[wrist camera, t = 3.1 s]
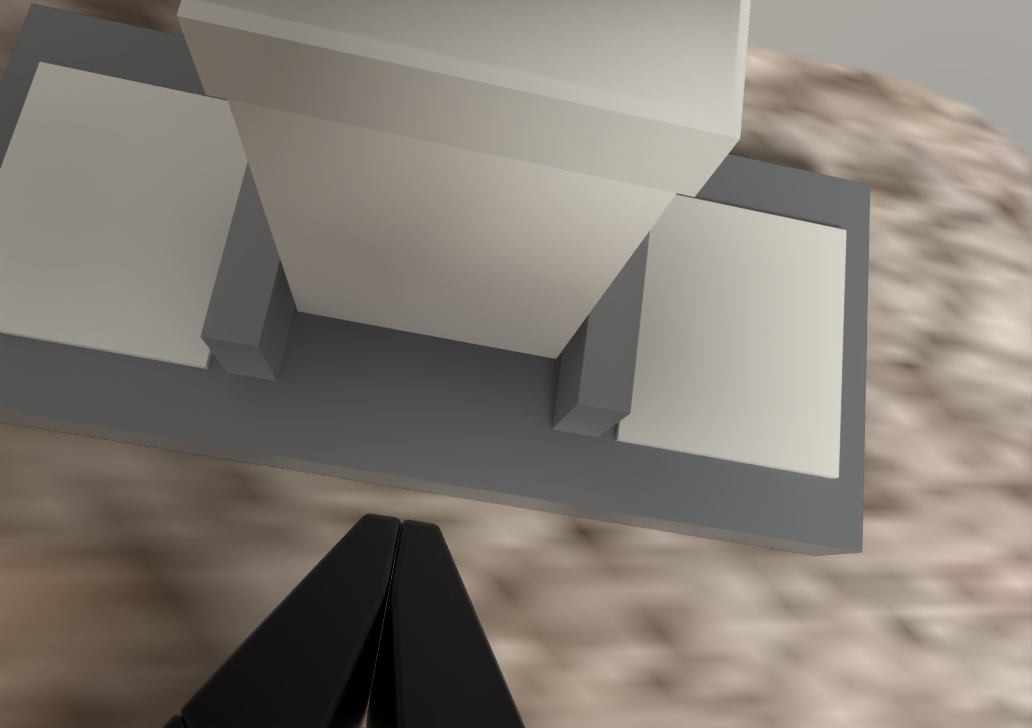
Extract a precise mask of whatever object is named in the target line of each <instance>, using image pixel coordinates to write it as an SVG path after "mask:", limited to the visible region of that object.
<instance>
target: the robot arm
mask: <svg viewBox="0 0 1032 728" xmlns="http://www.w3.org/2000/svg"><path fill="white" fill-rule="evenodd" d="M400 527H401V530H400ZM399 533H400V535H399ZM398 538H399V541H398ZM397 544H398V546H397ZM396 549H397V552H396ZM395 555H396V557H395ZM394 560H395V562H394ZM393 565H394V568H393ZM392 571H393V573H392ZM391 576H392V579H391ZM390 582H391V584H390ZM389 587H390V590H389ZM388 593H389V595H388ZM387 598H388V601H387ZM386 604H387V606H386ZM385 609H386V611H385ZM384 614H385V617H384ZM383 620H384V622H383ZM382 625H383V628H382ZM381 631H382V633H381ZM380 636H381V639H380ZM379 642H380V644H379ZM378 647H379V650H378ZM377 652H378V655H377ZM376 658H377V661H376ZM375 663H376V666H375ZM374 669H375V671H374ZM373 674H374V677H373ZM372 680H373V682H372ZM371 685H372V688H371ZM370 691H371V693H370ZM369 696H370V700H369ZM368 700H369V706H368V713H367V723H366V728H525V726H524V723H523V721H522V719H521V716H520V714H519V712H518V709H517V707H516V705H515V702H514V700H513V698H512V695H511V693H510V691H509V688H508V686H507V684H506V681H505V679H504V677H503V674H502V672H501V670H500V667H499V665H498V663H497V660H496V658H495V656H494V653H493V651H492V649H491V647H490V644H489V642H488V640H487V637H486V635H485V633H484V630H483V628H482V626H481V623H480V621H479V619H478V616H477V614H476V612H475V609H474V607H473V605H472V602H471V600H470V598H469V595H468V593H467V591H466V588H465V586H464V584H463V581H462V579H461V577H460V574H459V572H458V570H457V567H456V565H455V563H454V560H453V558H452V556H451V553H450V551H449V549H448V546H447V544H446V542H445V539H444V537H443V535H442V532H441V530H440V528H439V527H438V526H437V525H435V524H432V523H426V522H420V521H414V520H405V521H404V522H403V523H402V525H401V522H400V520H399V519H398V518H395V517H389V516H383V515H376V514H366V515H364V516H363V517H362V518H361V519H360V520H359V521H358V522H357V523H356V524H355V525H354V526H353V527H352V528H351V529H350V530H349V532H348V533H347V534H346V535H345V536H344V537H343V538H342V539H341V540H340V541H339V542H338V543H337V544H336V545H335V546H334V547H333V548H332V549H331V550H330V551H329V553H328V554H327V555H326V556H325V557H324V558H323V559H322V560H321V561H320V562H319V563H318V564H317V565H316V566H315V567H314V568H313V569H312V570H311V571H310V573H309V574H308V575H307V576H306V577H305V578H304V579H303V580H302V581H301V582H300V583H299V584H298V585H297V586H296V587H295V588H294V589H293V590H292V591H291V593H290V594H289V595H288V596H287V597H286V598H285V599H284V600H283V601H282V602H281V603H280V604H279V605H278V606H277V607H276V608H275V609H274V610H273V611H272V613H271V614H270V615H269V616H268V617H267V618H266V619H265V620H264V621H263V622H262V623H261V624H260V625H259V626H258V627H257V628H256V629H255V630H254V631H253V633H252V634H251V635H250V636H249V637H248V638H247V639H246V640H245V641H244V642H243V643H242V644H241V645H240V646H239V647H238V648H237V649H236V650H235V651H234V653H233V654H232V655H231V656H230V657H229V658H228V659H227V660H226V661H225V662H224V663H223V664H222V665H221V666H220V667H219V668H218V669H217V670H216V671H215V672H214V674H213V675H212V676H211V677H210V678H209V679H208V680H207V681H206V682H205V683H204V684H203V685H202V686H201V687H200V688H199V689H198V690H197V691H196V692H195V694H194V695H193V696H192V697H191V698H190V699H189V700H188V701H187V702H186V703H185V704H184V705H183V706H182V707H181V708H180V710H179V715H174V716H172V717H171V718H170V719H169V720H168V721H167V722H166V724H165V725H164V726H163V727H162V728H362V725H363V721H364V718H365V714H366V710H367V705H368Z"/></svg>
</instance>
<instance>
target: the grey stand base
mask: <svg viewBox="0 0 1032 728" xmlns="http://www.w3.org/2000/svg"><path fill="white" fill-rule="evenodd" d="M869 216H870V184H865V183H861V182H856V181H851V180H847V179H842V178H838V177H833V176H828V175H824V174H819V173H814V172H810V171H805V170H800V169H796V168H791V167H787V166H782V165H777V164H773V163H768V162H763V161H759V160H754V159H749V158H745V157H740V156H736V155H731V154H728V155H727V156H726V157H725V159H724V160H723V161H722V163H721V164H720V165H719V166H718V168H717V169H716V170H715V172H714V173H713V174H712V175H711V177H710V178H709V179H708V180H707V182H706V183H705V184H704V186H703V187H702V188H701V189H700V191H699V192H698V193H697V195H696V196H695V197H692V196H687V195H683V194H678V193H677V194H676V195H675V196H674V198H673V199H672V201H671V202H670V203H669V205H668V206H667V207H666V209H665V210H664V212H663V213H662V214H661V216H660V217H659V218H658V220H657V221H656V223H655V224H654V225H653V227H652V228H651V229H650V231H649V232H648V234H647V235H646V236H645V238H644V239H643V240H642V242H641V243H640V244H639V246H638V247H637V249H636V250H635V251H634V253H633V254H632V255H631V257H630V258H629V260H628V261H627V262H626V264H625V265H624V266H623V268H622V269H621V271H620V272H619V273H618V275H617V276H616V277H615V279H614V280H613V282H612V283H611V284H610V286H609V287H608V288H607V290H606V291H605V293H604V294H603V295H602V297H601V298H600V299H599V301H598V302H597V304H596V305H595V306H594V308H593V309H592V310H591V312H590V313H589V315H588V316H587V317H586V319H585V320H584V321H583V323H582V324H581V326H580V327H579V328H578V330H577V331H576V332H575V334H574V335H573V336H572V338H571V339H570V341H569V342H568V343H567V345H566V346H565V347H564V349H563V350H562V352H561V353H560V354H559V356H558V357H557V358H556V359H554V358H549V357H543V356H538V355H532V354H527V353H521V352H516V351H511V350H505V349H500V348H494V347H489V346H483V345H478V344H473V343H467V342H462V341H456V340H451V339H445V338H440V337H434V336H429V335H424V334H418V333H413V332H407V331H402V330H396V329H391V328H386V327H380V326H375V325H369V324H364V323H358V322H353V321H348V320H342V319H337V318H331V317H326V316H320V315H315V314H310V313H304V312H299V311H297V308H296V305H295V302H294V299H293V296H292V293H291V290H290V287H289V284H288V281H287V278H286V275H285V272H284V269H283V266H282V263H281V260H280V257H279V254H278V251H277V248H276V245H275V242H274V239H273V236H272V233H271V230H270V227H269V224H268V221H267V218H266V215H265V212H264V209H263V206H262V203H261V200H260V197H259V194H258V191H257V188H256V185H255V182H254V178H253V175H252V172H251V169H250V166H249V163H248V160H247V157H246V154H245V151H244V148H243V145H242V142H241V139H240V136H239V133H238V130H237V127H236V124H235V121H234V118H233V115H232V112H231V109H230V106H229V103H228V100H227V99H224V98H219V97H214V96H209V95H206V94H205V91H204V88H203V86H202V83H201V80H200V77H199V75H198V72H197V69H196V67H195V64H194V61H193V59H192V56H191V53H190V51H189V48H188V45H187V43H186V40H185V37H184V36H179V35H175V34H170V33H166V32H161V31H156V30H152V29H147V28H142V27H138V26H133V25H129V24H124V23H119V22H115V21H110V20H105V19H101V18H96V17H91V16H87V15H82V14H78V13H73V12H68V11H64V10H59V9H54V8H50V7H45V6H40V5H36V4H31V6H30V9H29V12H28V14H27V17H26V20H25V22H24V25H23V28H22V30H21V33H20V35H19V38H18V41H17V43H16V46H15V49H14V51H13V54H12V56H11V59H10V62H9V64H8V67H7V70H6V72H5V75H4V78H3V80H2V83H1V85H0V422H2V423H9V424H15V425H21V426H27V427H33V428H39V429H45V430H51V431H57V432H63V433H70V434H76V435H82V436H88V437H94V438H100V439H106V440H112V441H118V442H124V443H131V444H137V445H143V446H149V447H155V448H161V449H167V450H173V451H179V452H185V453H191V454H198V455H204V456H210V457H216V458H222V459H228V460H234V461H240V462H246V463H252V464H259V465H265V466H271V467H277V468H283V469H289V470H295V471H301V472H307V473H313V474H320V475H326V476H332V477H338V478H344V479H350V480H356V481H362V482H368V483H374V484H380V485H387V486H393V487H399V488H405V489H411V490H417V491H423V492H429V493H435V494H441V495H448V496H454V497H460V498H466V499H472V500H478V501H484V502H490V503H496V504H502V505H509V506H515V507H521V508H527V509H533V510H539V511H545V512H551V513H557V514H563V515H569V516H576V517H582V518H588V519H594V520H600V521H606V522H612V523H618V524H624V525H630V526H637V527H643V528H649V529H655V530H661V531H667V532H673V533H679V534H685V535H691V536H698V537H704V538H710V539H716V540H722V541H728V542H734V543H740V544H746V545H752V546H758V547H765V548H771V549H777V550H783V551H789V552H795V553H801V554H807V555H813V556H821V555H835V554H848V553H862V534H863V489H864V443H865V398H866V352H867V307H868V261H869Z"/></svg>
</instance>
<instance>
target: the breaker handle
mask: <svg viewBox="0 0 1032 728" xmlns="http://www.w3.org/2000/svg"><path fill="white" fill-rule="evenodd" d="M750 1H751V0H181V3H180V6H179V9H178V12H177V15H176V16H177V18H178V21H179V24H180V27H181V29H182V32H183V35H184V37H185V40H186V43H187V45H188V48H189V51H190V53H191V56H192V59H193V61H194V64H195V67H196V69H197V72H198V75H199V77H200V80H201V83H202V86H203V88H204V91H205V94H206V95H209V96H214V97H219V98H224V99H227V100H228V103H229V106H230V109H231V112H232V115H233V118H234V121H235V124H236V127H237V130H238V133H239V136H240V139H241V142H242V145H243V148H244V151H245V154H246V157H247V160H248V163H249V166H250V169H251V172H252V175H253V178H254V182H255V185H256V188H257V191H258V194H259V197H260V200H261V203H262V206H263V209H264V212H265V215H266V218H267V221H268V224H269V227H270V230H271V233H272V236H273V239H274V242H275V245H276V248H277V251H278V254H279V257H280V260H281V263H282V266H283V269H284V272H285V275H286V278H287V281H288V284H289V287H290V290H291V293H292V296H293V299H294V302H295V305H296V308H297V311H299V312H304V313H310V314H315V315H320V316H326V317H331V318H337V319H342V320H348V321H353V322H358V323H364V324H369V325H375V326H380V327H386V328H391V329H396V330H402V331H407V332H413V333H418V334H424V335H429V336H434V337H440V338H445V339H451V340H456V341H462V342H467V343H473V344H478V345H483V346H489V347H494V348H500V349H505V350H511V351H516V352H521V353H527V354H532V355H538V356H543V357H549V358H554V359H556V358H557V357H558V356H559V354H560V353H561V352H562V350H563V349H564V347H565V346H566V345H567V343H568V342H569V341H570V339H571V338H572V336H573V335H574V334H575V332H576V331H577V330H578V328H579V327H580V326H581V324H582V323H583V321H584V320H585V319H586V317H587V316H588V315H589V313H590V312H591V310H592V309H593V308H594V306H595V305H596V304H597V302H598V301H599V299H600V298H601V297H602V295H603V294H604V293H605V291H606V290H607V288H608V287H609V286H610V284H611V283H612V282H613V280H614V279H615V277H616V276H617V275H618V273H619V272H620V271H621V269H622V268H623V266H624V265H625V264H626V262H627V261H628V260H629V258H630V257H631V255H632V254H633V253H634V251H635V250H636V249H637V247H638V246H639V244H640V243H641V242H642V240H643V239H644V238H645V236H646V235H647V234H648V232H649V231H650V229H651V228H652V227H653V225H654V224H655V223H656V221H657V220H658V218H659V217H660V216H661V214H662V213H663V212H664V210H665V209H666V207H667V206H668V205H669V203H670V202H671V201H672V199H673V198H674V196H675V195H676V194H677V193H678V194H683V195H687V196H692V197H695V196H696V195H697V193H698V192H699V191H700V189H701V188H702V187H703V186H704V184H705V183H706V182H707V180H708V179H709V178H710V177H711V175H712V174H713V173H714V172H715V170H716V169H717V168H718V166H719V165H720V164H721V163H722V161H723V160H724V159H725V157H726V156H727V155H728V154H729V152H730V151H731V150H732V148H733V147H734V146H735V145H736V143H737V142H738V141H739V140H740V135H741V122H742V108H743V95H744V81H745V68H746V55H747V41H748V28H749V14H750Z"/></svg>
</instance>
